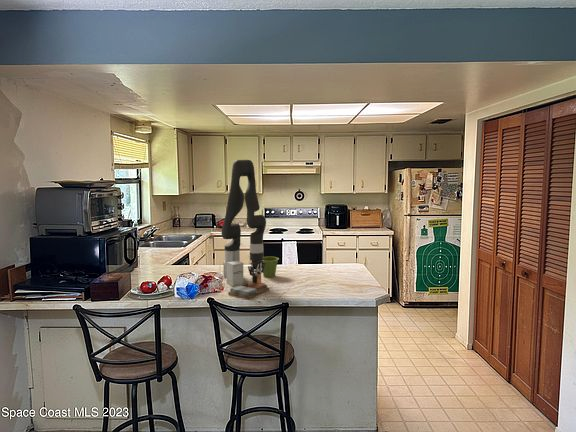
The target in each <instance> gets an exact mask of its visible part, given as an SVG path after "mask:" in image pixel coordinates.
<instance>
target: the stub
mask: <svg viewBox="0 0 576 432" xmlns="http://www.w3.org/2000/svg"><path fill="white" fill-rule="evenodd" d="M251 277H252V279H251V280H250V281H249V282H247V283H248V286H249V287H254V288H259V287H261V286H264V285H266V283H265V282H262V273H261V274H258V273H257V283H253V276H251Z"/></svg>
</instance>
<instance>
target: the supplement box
mask: <svg viewBox="0 0 576 432" xmlns="http://www.w3.org/2000/svg"><path fill="white" fill-rule="evenodd" d="M226 284H228V285H229V286H232V287H235V286H238V285H243V284H244V262H242V261H240V262H239V261H234V262H227V278H226Z"/></svg>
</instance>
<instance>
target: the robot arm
mask: <svg viewBox="0 0 576 432" xmlns="http://www.w3.org/2000/svg"><path fill="white" fill-rule="evenodd" d="M254 166H255V165H254V163H253V161H252V160H251V159H236V160H234V161H233V163H232V168H231V180H230V188H229V193H228V197H227V198H228V199H227V202H226V203H227V204H226V209H225V210H226V211H225V215H224V219H223V222H222V226H221V237H222V239H223V240H231V241H230V242H229V243H227V244H225V245H224V262H223V263H222V265H223V278H225V279H227V262H234V261H239V262H241V257H240V255H241V252H240V251H241V248H240V247H241V235H242V232H241V226H240V224H239V223H233V221H234V220H235V218H236V216H238V215H239V214H240V212H241V211H242V209H244V203H245V206H246V225H247V226H248V228H249V229H255V230H254V231H253V232H251V233H250V235H249V238H250V239H249V240H250V241H249V243H250V244H249V260H250V261H251V263H250V265H248V267H247V269H248V273H249V275H250V276H251V277H252V276H253V283H257V273H258V274H261V275H262V274H263V271H264V266H265V262H262V260H263V259H264V257H265V256H264V234H265V230H266V225H267V219H266V217H265V216H264V215H263V214H257V215H256V214H255V212H258V211H259V210H260V203H259V199H258V194H257V188H256V176H255V175H256V172H255V167H254ZM241 177H247V187H246V190H245V193H244V191H243V189H242V187H241V185H240V184H241V183H240V182H241V181H240V179H241Z"/></svg>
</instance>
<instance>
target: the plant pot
mask: <svg viewBox="0 0 576 432" xmlns="http://www.w3.org/2000/svg"><path fill="white" fill-rule="evenodd" d="M279 260H280V258H279V257H276V256H264V259H263V260H262V262H265V266H264V271H263V273H262V275H263V277H264V278H275V276H276V273H277V266H278V262H279Z"/></svg>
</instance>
